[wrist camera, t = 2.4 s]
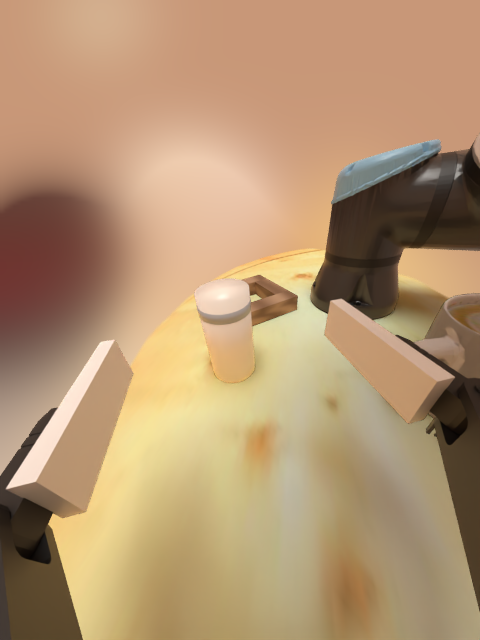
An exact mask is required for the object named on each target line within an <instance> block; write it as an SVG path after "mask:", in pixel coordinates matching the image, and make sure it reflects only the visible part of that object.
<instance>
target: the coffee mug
mask: <svg viewBox="0 0 480 640" xmlns="http://www.w3.org/2000/svg"><path fill="white" fill-rule="evenodd" d="M414 343H415V344H416V345H418V346H419V347H420V348H421V349H424V350H425V351H427V352H428V353H429V354H431V355H433V356H434V357H436V358H437V359H439V360H440V361H442V362H443V363H445V364H446V365H448V366H449V367H451V368H452V369H454V370H455V371H457V372H458V373H460V374H461V375H463V376H465V377H466V378H480V293H475V294H463V295H457V296H454V297H451V298H449V299H447V300H446V301H445V302H444V304H443V305H442V307H441V309H440V310H439V312H438V314H437V316H436V318H435V320H434V321H433V323H432V325H431V327H430V329H429V331H428V333H427V334H426V336H425V338H424V340H420V341H416V342H414ZM428 414H429V415H431V416H432V417H433V418H435V417H436V416H435V415H434V414H432V413H431V412H429V413H428Z"/></svg>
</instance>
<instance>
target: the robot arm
mask: <svg viewBox="0 0 480 640" xmlns="http://www.w3.org/2000/svg"><path fill="white" fill-rule="evenodd" d="M440 143H441V142H440V140H431V141H427V142H424V143H419V144H415V145H411V146H407V147H403V148H399V149H396V150H393V151H389V152H385V153H382V154H378V155H375V156H372V157H369V158H365V159H362V160H359V161H356V162H354V163H352V164H349V165H347V166H346V167H345V168H344V169H343V170H342V171H341V172H340V174H339V175H338V178H337V182H336V187H335V192H334V197H333V200H332V202H331V204H332V211H331V219H330V226H329V233H328V239H327V246H326V253H325V260H324V263H323V265H322V267H321V269H320V271H319V273H318V275H317V277H316V279H315V282H314V283H313V285H312V288H311V301H312V302H313V304H314V305H315V306H317V307H318V308H319V309H321V310H323V311H325V312H327V313H328V317H327V323H326V328H325V334H324V335H325V336H326V337H327V338H328V339H329V340H330V342H331V343H332V344H333V345H334V346H335V347H336V348H337V349H338V350H339V351H340V352H341V353H342V354H343V355H344V356H345V357H346V358H347V360H348V361H349V362H350V363H351V364H352V365H353V366H354V367H355V368H356V369H357V370H358V371H359V372H360V373H361V374H362V375H363V376H364V378H365V379H366V380H367V381H368V382H369V383H370V384H371V385H372V386H373V387H374V388H375V389H376V390H377V391H378V392H379V393H380V394H381V396H382V397H383V398H384V399H385V400H386V401H387V402H388V403H389V404H390V405H391V406H392V407H393V408H394V409H395V410H396V411H397V412H398V414H399V415H400V416H401V417H402V418H403V419H404V420H405V421H406V422H407V423H408V424H409V423H413V422H417V421H420V420H424V418H425V417H426V416H427V414H428V413H429V412H431V413H432V414H434V415H435V416H436V417H435V419H434V420H433V421H432V422H431V424H430V425H429V426H428V427H427V429H426V433H428V434H430V433H431V432H432V430H433V429H434V428H435V430H436V433H435V434H434V436H436V437H437V439H438V443H439V447H440V451H441V455H442V459H443V463H444V467H445V471H446V475H447V479H448V484H449V488H450V492H451V496H452V500H453V504H454V508H455V512H456V516H457V520H458V524H459V529H460V533H461V537H462V541H463V545H464V549H465V553H466V557H467V561H468V565H469V569H470V574H471V578H472V582H473V586H474V590H475V594H476V598H477V602H478V606H479V610H480V378H466V377H465V376H463V375H461V374H460V373H458V372H457V371H455V370H454V369H452V368H451V367H449V366H448V365H446V364H445V363H443V362H442V361H440V360H439V359H437V358H436V357H434V356H433V355H431V354H429V353H428V352H427V351H425V350H424V349H421V348H420V347H419V346H418V345H416V344H415V343H413V342H412V341H410V340H408V339H406V338H403V337H401V336H399V335H393V334H392V333H390V332H389V331H388V330H386V329H385V328H383V327H382V326H380V325H379V324H377V323H376V322H375V321H373V320H372V319H375V318H380V317H384V316H386V315H388V314H390V313H391V312H393V310H394V309H395V306H396V303H397V301H398V297H399V289H398V263H399V260H400V257H401V254H402V252H403V249H405V248H424V249H449V250H474V251H480V133H479V135H478V136H477V138H476V139H475V141H474V143H473V145H472V146H471V148H470V149H468V150H461V151H454V152H448V153H441V154H438V152H440V150H441V145H440ZM133 374H134V373H133V371H132V370H131V368H130V366H129V364H128V362H127V361H126V359H125V357H124V356H123V353H122V352H121V350H120V348H119V346H118V344H117V343H116V341H115V340H110V341H104V342H100V344H99V345H98V347H97V348H96V350H95V352H94V353H93V354H92V356H91V358H90V359H89V361H88V362H87V364H86V365H85V367H84V368H83V370H82V371H81V373H80V375H79V376H78V378H77V379H76V381H75V382H74V384H73V385H72V387H71V389H70V390H69V392H68V393H67V395H66V396H65V398H64V400H63V401H62V402H61V404H60V406H59V407H58V408H53V409H51V410H50V411H49V412H48V413H47V414H46V415H44V416H43V417H42V418H41V419H40V420H39V421H38V423H37V424H36V425H35V427H34V428H33V430H32V431H31V433H30V434H29V437H28V438H26V440H25V441H24V443H23V444H22V446H21V449H19V450H18V451H17V453H16V454H15V456H14V457H13V459H12V460H11V461H10V463H9V464H8V466H7V467H6V469H5V470H4V471H3V473H2V474H1V476H0V640H83V638H82V635H81V631H80V627H79V624H78V620H77V617H76V613H75V610H74V606H73V602H72V599H71V595H70V592H69V588H68V585H67V581H66V577H65V574H64V570H63V567H62V563H61V560H60V556H59V552H58V549H57V545H56V542H55V538H54V535H53V531H52V529H51V527H50V526H49V525H48V523H49V520H50V518H51V516H52V514H53V513H54V514H55V515H57V516H59V517H61V518H65V517H69V516H72V515H76V514H80V513H83V512H86V510H87V507H88V504H89V502H90V499H91V496H92V493H93V490H94V487H95V484H96V481H97V478H98V475H99V472H100V470H101V467H102V464H103V461H104V458H105V455H106V452H107V449H108V446H109V443H110V440H111V438H112V435H113V432H114V429H115V426H116V423H117V420H118V417H119V414H120V411H121V408H122V406H123V403H124V400H125V397H126V394H127V391H128V388H129V385H130V382H131V379H132V376H133Z"/></svg>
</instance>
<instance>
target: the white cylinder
mask: <svg viewBox="0 0 480 640" xmlns="http://www.w3.org/2000/svg"><path fill="white" fill-rule="evenodd" d="M194 295H195V299H196V303H197V309H198V313H199V317H200V319H201V323H202V327H203V331H204V335H205V339H206V343H207V347H208V351H209V355H210V359H211V363H212V367H213V371H214V374H215V376H216V377H217V378H218V379H219V380H221V381H223V382H226V383H238V382H241V381H244V380H246V379H247V378H249V377H250V376H251V375H252V373H253V372H254V369H255V357H254V344H253V331H252V318H251V300H250V292H249V285H248V284H247V283H246V282H245V281H242V280H239V279H219V280H214V281H210V282H207V283H205V284H203V285H201V286H200V287H198V288H197V289H196V291H195V293H194Z"/></svg>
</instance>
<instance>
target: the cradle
mask: <svg viewBox="0 0 480 640" xmlns="http://www.w3.org/2000/svg"><path fill="white" fill-rule="evenodd" d="M242 281H245V282H246V283H247V284H248V285H249V292H250V295H253V294H257V295H258V296H260V297H261V298H263V299H260V300H257V301H254V302H251V318H252V326H254V325H257V324H259V323H262V322H265V321H267V320H270V319H273V318H275V317H278V316H281V315H283V314H286V313H289V312H291V311H294V310H297V299H298V296H297V295H295V294H293V293H292V292H290V291H288V290H286V289H284V288H283V287H281V286H279V285H277V284H275V283H273V282H272V281H270V280H268V279H266V278H264V277H263V276H261V275H257V276H253V277H250V278H246V279H243V280H242Z"/></svg>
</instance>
